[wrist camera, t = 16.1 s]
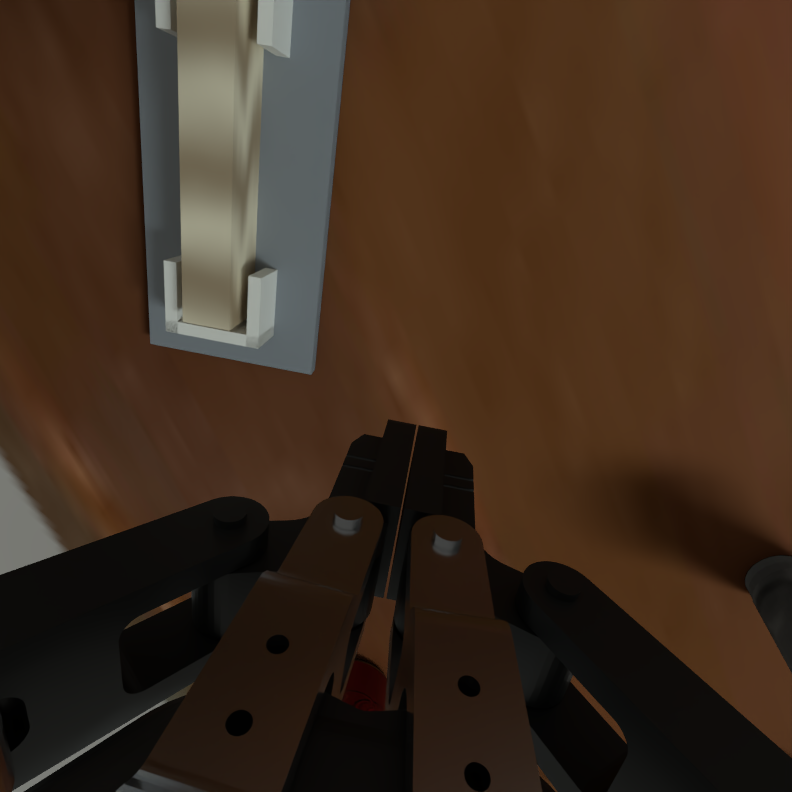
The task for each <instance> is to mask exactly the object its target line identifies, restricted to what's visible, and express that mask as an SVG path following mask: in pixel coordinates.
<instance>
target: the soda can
mask: <svg viewBox="0 0 792 792" xmlns="http://www.w3.org/2000/svg"><path fill="white" fill-rule="evenodd" d="M386 685H387V678H386V677H385V675H384V674H383V673H382V672H381V671H380V670H379V669H378V668H377V667H376V666H374V665H372V664H371V663H369V662H366V661H364V660H360V659H355V660H354V663H353V666H352V670H351V673H350V676H349V679H348V682H347V686H346V689H345V692H344V695H343V698H342V701H344V702H346V703H348V704H350V705H352V706H353V707H355V708H358V709H360V710H364V711H385V700H386Z"/></svg>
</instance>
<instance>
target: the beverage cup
mask: <svg viewBox="0 0 792 792" xmlns="http://www.w3.org/2000/svg"><path fill="white" fill-rule="evenodd" d="M745 586H746V588H747V589H748V591H749V593H750V595H751V597H752V599H753V603H754V604H755V606H756V608H757V610H758V612H759V614H760V615H761V617H762V619H763V621H764V623H765V625H766V626H767V628H768V630H769V632H770V634H771V636H772V637H773V639H774V641H775V643H776V645H777V647H778V648H779V650H780V652H781V654H782V656H783V658H784V659H785V661H786V663H787V665H788V667H789V669H790V671H791V672H792V557H791V556H782V555H780V556H773V557H769V558H766V559H763V560H761V561H759V562H758V563H756V564H755V565H753V566H752V567H751V569H750V570H749V571H748V572H747V575H746V578H745Z"/></svg>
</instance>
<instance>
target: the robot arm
mask: <svg viewBox="0 0 792 792" xmlns="http://www.w3.org/2000/svg"><path fill="white" fill-rule="evenodd" d="M415 429H416V425H414V424H409V423H404V422H399V421H394V420H388V422H387V426H386V429H385V432H384V436H383V438H381V437H376V436H371V435H366V434H364V435H362V436H361V437H359V438H358V439H356V440H355V441H353V442H352V443H351V446H350V448H349V451H348V453H347V456H346V458H345V460H344V463H343V466H342V468H341V470H340V473H339V475H338V477H337V480H336V482H335V485H334V487H333V490H332V492H331V494H330V497H329V498H328V499H325V500H323V501H322V502H320V503H319V504H318V505H316V507H315V508H314V510H313V511H312V513H311V515H310V516H309V517H307V518H303V519H298V520H288V521H269V514H268V512H267V510H266V509H265V508H264V506H262V505H261V504H260V503H258V502H256V501H254V500H252V499H249V498H244V497H235V496H230V497H221V498H217V499H213V500H210V501H207V502H205V503H202V504H199V505H196V506H193V507H191V508H188V509H185V510H182V511H179V512H176V513H174V514H171V515H168V516H165V517H162V518H160V519H157V520H154V521H151V522H148V523H145V524H143V525H140V526H137V527H134V528H131V529H129V530H126V531H123V532H120V533H117V534H114V535H112V536H109V537H106V538H103V539H100V540H98V541H95V542H92V543H89V544H86V545H83V546H81V547H78V548H75V549H72V550H69V551H67V552H64V553H61V554H58V555H55V556H52V557H50V558H47V559H44V560H41V561H39V562H36V563H33V564H30V565H27V566H24V567H22V568H19V569H16V570H13V571H10V572H7V573H5V574H2V575H0V792H12V791H13V790H14V789H16V788H18V787H20V786H21V785H23V784H24V783H26V782H28V781H29V780H31V779H33V778H35V777H36V776H38V775H40V774H41V773H43V772H44V771H46V770H48V769H50V768H51V767H53V766H54V765H56V764H58V763H59V762H61V761H63V760H64V759H66V758H68V757H70V756H71V755H73V754H74V753H76V752H78V751H80V750H81V749H83V748H85V747H86V746H88V745H90V744H91V743H93V742H95V741H96V740H98V739H100V738H101V737H103V736H105V735H106V734H108V733H110V732H111V731H113V730H115V729H116V728H118V727H120V726H121V725H123V724H125V723H126V722H128V721H130V720H131V719H133V718H135V717H136V716H138V715H140V714H141V713H143V712H145V711H146V710H148V709H150V708H151V707H153V706H155V705H156V704H158V703H160V702H161V701H163V700H165V699H166V698H168V697H170V696H171V695H173V694H175V693H176V692H178V691H180V690H181V689H183V688H185V687H186V686H188V685H190V684H191V683H193V682H194V683H193V685H192V687H191V688H190V690H189V691H188V693H187V695H185V696H182V697H180V698H177V699H175V700H172V701H169V702H167V703H165V704H163V705H161V706H160V707H157V708H155V709H154V710H152V711H150V712H148V713H146V714H145V715H143V716H141V717H140V718H138V719H137V720H135V721H134V722H132V723H131V724H129V725H127V726H126V727H124V728H123V729H121V730H120V731H118V732H116V733H115V734H113V735H112V736H110V737H109V738H107V739H105V740H104V741H103V742H101V743H99V744H98V745H96V746H95V747H93V748H91V749H90V750H89V751H87V752H85V753H84V754H82V755H80V756H79V757H77V758H76V759H74V760H73V761H71V762H69V763H68V764H66V765H65V766H64V767H62V768H60V769H59V770H57V771H55V772H54V773H52V774H51V775H49V776H48V777H46V778H44V779H43V780H41V781H40V782H38V783H37V784H35V785H34V786H32V787H30V788H29V789H27V790H26V791H24V792H555V791H554V790H553V789H552V788H551V787H550V786H549V785H548V784H547V783H546V782H545V781H544V780H543V779H542V778H541V777H540V776H539V771H538V766H539V767H540V768H541V770H542V771H543V772H544V774H545V775H546V776H547V778H548V779H549V780H550V782H551V783H552V785H553V786H554V787H555V789H556V790H557V791H558V792H792V758H791V757H789V756H788V755H787V754H786V753H785V752H784V751H783V750H782V749H780V748H779V747H778V746H777V745H776V744H775V743H774V742H772V741H771V740H770V739H769V738H768V737H767V736H766V735H764V734H763V733H762V732H761V731H760V730H759V729H758V728H757V727H755V726H754V725H753V724H752V723H751V722H750V721H749V720H747V719H746V718H745V717H744V716H743V715H742V714H741V713H740V712H738V711H737V710H736V709H735V708H734V707H733V706H732V705H730V704H729V703H728V702H727V701H726V700H725V699H724V698H722V697H721V696H720V695H719V694H718V693H717V692H716V691H715V690H713V689H712V688H711V687H710V686H709V685H708V684H707V683H705V682H704V681H703V680H702V679H701V678H700V677H699V676H698V675H696V674H695V673H694V672H693V671H692V670H691V669H690V668H688V667H687V666H686V665H685V664H684V663H683V662H682V661H680V660H679V659H678V658H677V657H676V656H675V655H674V654H673V653H671V652H670V651H669V650H668V649H667V648H666V647H665V646H663V645H662V644H661V643H660V642H659V641H658V640H657V639H656V638H654V637H653V636H652V635H651V634H650V633H649V632H648V631H646V630H645V629H644V628H643V627H642V626H641V625H640V624H638V623H637V622H636V621H635V620H634V619H633V618H632V617H631V616H629V615H628V614H627V613H626V612H625V611H624V610H623V609H621V608H620V607H619V606H618V605H617V604H616V603H615V602H613V601H612V600H611V599H610V598H609V597H608V596H607V595H606V594H604V593H603V592H602V591H601V590H600V589H599V588H598V587H596V586H595V585H594V584H593V583H592V582H591V581H590V580H589V579H587V578H586V577H585V576H584V575H582V574H581V573H579V572H578V571H576V570H574V569H572V568H570V567H568V566H566V565H563V564H560V563H556V562H549V561H542V562H536V563H533V564H531V565H529V566H528V567H527V568H526V569H525V571H524V573H522V572H520V571H518V570H515V569H513V568H511V567H509V566H507V565H505V564H503V563H501V562H499V561H497V560H496V559H494V558H493V557H492V556H490V555H489V554H488V553H487V552H486V551H485V550H484V547H483V542H482V539H481V537H480V535H479V534H478V533H477V531H476V530H475V512H474V492H473V491H474V482H473V466H472V464H471V463H470V461H469V460H468V459H467V457H466V456H465V454H463V453H458V452H453V451H448V450H446V439H447V431H446V430H440V429H435V428H430V427H425V426H420V425H419V427H418V432H417V437H416V442H415V447H414V452H413V457H412V462H411V467H410V472H409V477H408V482H407V488H406V493H405V498H404V504H403V509H402V515H401V520H400V526H399V532H398V537H397V543H396V548H395V554H394V559H393V565H392V570H391V576H390V582H389V587H388V593H387V599H392V600H396V605H395V612H394V617H393V622H392V626H391V631H390V640H389V655H388V670H387V685H386V700H385V711H364V710H360V709H358V708H355V707H353V706H352V705H350V704H348V703H346V702H344V701H342V698H343V695H344V692H345V689H346V686H347V682H348V679H349V676H350V673H351V670H352V666H353V663H354V660H355V657H356V654H357V650H358V647H359V644H360V641H361V638H362V634H363V631H364V627H365V622H366V618H367V617H368V616H369V614H370V611H371V608H372V603H373V598H374V596H377V597H381V598H383V597H384V592H385V587H386V582H387V576H388V571H389V566H390V561H391V556H392V551H393V546H394V541H395V536H396V531H397V525H398V520H399V515H400V510H401V505H402V499H403V494H404V489H405V483H406V478H407V472H408V467H409V462H410V456H411V451H412V445H413V440H414V435H415ZM191 591H192V597H191V598H189V599H187V600H185V601H183V602H181V603H179V604H177V605H175V606H173V607H171V608H168V609H166V610H164V611H162V612H160V613H158V614H156V615H154V616H152V617H150V618H148V619H146V620H143V621H141V622H139V623H137V624H135V625H133V626H131V627H129V628H127V629H125V630H124V628H125V627H126V626H127V625H128V624H129V623H130V622H131V621H132V620H134V619H135V618H137V617H138V616H140V615H142V614H144V613H146V612H148V611H150V610H152V609H154V608H157V607H159V606H161V605H163V604H165V603H167V602H169V601H171V600H174V599H176V598H178V597H180V596H182V595H184V594H186V593H188V592H191ZM573 675H574V676H575V677H576V678H577V680H578V681H579V682H580V683H581V684H582V685H583V686H584V687H585V688H586V689H587V690H588V692H589V693H590V694H591V695H592V696H593V697H594V698H595V699H596V700H597V701H598V702H599V703H600V705H601V706H602V707H603V708H604V709H605V710H606V711H607V712H608V713H609V714H610V715H611V717H612V718H613V719H614V720H615V721H616V722H617V724H618V725H619V726H620V728H621V730H622V732H623V734H624V736H625V738H626V741H627V744H626V743H625V742H624V741H623V740H622V738H621V737H620V736H619V735H618V734H617V733H616V732H615V731H614V730H613V729H612V727H611V726H610V725H609V724H608V723H607V722H606V721H605V720H604V719H603V717H602V716H601V715H600V714H599V713H598V712H597V711H596V710H595V709H594V707H593V706H592V705H591V704H590V703H589V702H588V701H587V700H586V699H585V698H584V696H583V695H582V694H581V693H580V692H579V691H578V690H577V689H576V688H575V686H574V685H573V684H572V683H571V682H570V681H571V678H572V676H573ZM537 764H538V766H537Z"/></svg>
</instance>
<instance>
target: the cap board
mask: <svg viewBox="0 0 792 792" xmlns="http://www.w3.org/2000/svg"><path fill="white" fill-rule="evenodd" d="M349 8H350V0H258V23H257V44H258V45H260V46H261V47H263V48H264V57H263V82H262V107H261V133H260V158H259V183H258V208H257V233H256V258H255V273H254V274H252V275H249V276H248V304H247V319H246V320H244V321H243V322H241V323H240V324H238V325H237V326H235V327H234V328H232V329H231V330H229V331H228V330H223V329H218V328H213V327H207V326H202V325H197V324H191V323H186V322H183V312H182V260H181V208H180V156H179V104H178V52H177V0H135V21H136V42H137V64H138V85H139V107H140V129H141V150H142V172H143V193H144V215H145V236H146V258H147V279H148V301H149V323H150V344H155V345H160V346H165V347H170V348H175V349H181V350H186V351H191V352H196V353H201V354H207V355H212V356H217V357H222V358H227V359H232V360H238V361H243V362H248V363H253V364H258V365H264V366H269V367H274V368H279V369H284V370H290V371H295V372H300V373H305V374H310V375H311V374H312V373H313V371H314V370H315V361H316V350H317V340H318V329H319V319H320V309H321V298H322V288H323V278H324V267H325V257H326V247H327V236H328V226H329V215H330V205H331V195H332V184H333V174H334V164H335V153H336V143H337V133H338V122H339V112H340V101H341V91H342V81H343V70H344V60H345V50H346V39H347V29H348V19H349Z"/></svg>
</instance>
